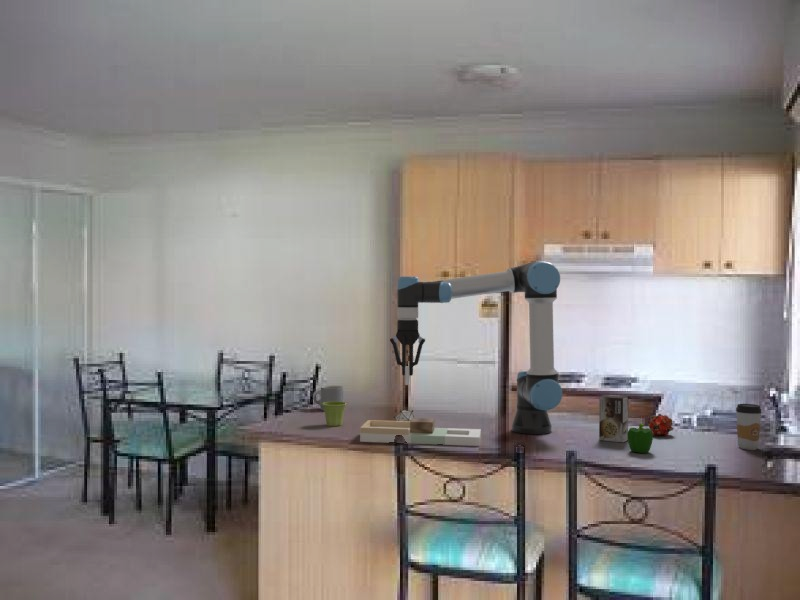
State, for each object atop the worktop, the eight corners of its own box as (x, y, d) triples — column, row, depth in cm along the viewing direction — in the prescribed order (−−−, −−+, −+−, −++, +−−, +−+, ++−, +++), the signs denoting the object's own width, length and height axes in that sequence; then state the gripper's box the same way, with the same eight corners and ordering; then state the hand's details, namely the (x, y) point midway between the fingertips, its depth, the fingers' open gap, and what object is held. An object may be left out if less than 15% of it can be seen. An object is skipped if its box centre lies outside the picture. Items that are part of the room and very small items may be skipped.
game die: (403, 441, 304) (392, 421, 300) (397, 429, 312) (387, 410, 307) (423, 429, 304) (413, 410, 300) (418, 418, 312) (407, 399, 308)
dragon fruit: (668, 437, 307) (657, 446, 297) (649, 422, 310) (638, 431, 301) (680, 421, 303) (670, 430, 293) (662, 406, 306) (651, 415, 297)
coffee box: (628, 440, 291) (629, 396, 291) (622, 443, 286) (623, 398, 286) (604, 437, 296) (605, 393, 296) (598, 440, 291) (598, 395, 291)
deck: (480, 437, 293) (480, 423, 293) (479, 446, 277) (479, 431, 277) (367, 433, 299) (367, 420, 299) (360, 441, 283) (360, 427, 283)
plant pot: (343, 427, 310) (343, 405, 310) (319, 426, 312) (319, 404, 311) (348, 423, 319) (348, 401, 319) (325, 422, 321) (325, 401, 321)
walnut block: (434, 429, 291) (434, 418, 291) (432, 433, 283) (432, 422, 283) (412, 428, 292) (412, 417, 292) (410, 432, 284) (410, 421, 284)
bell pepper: (628, 448, 276) (628, 419, 276) (653, 450, 273) (653, 421, 273) (625, 453, 268) (626, 423, 268) (651, 455, 265) (652, 425, 265)
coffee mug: (346, 408, 359) (346, 386, 358) (338, 411, 349) (338, 388, 349) (318, 406, 362) (318, 384, 362) (310, 410, 353) (310, 387, 353)
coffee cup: (746, 451, 274) (747, 407, 274) (729, 446, 282) (730, 403, 282) (766, 449, 277) (767, 406, 276) (749, 445, 285) (750, 403, 284)
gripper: (426, 318, 291) (426, 383, 291) (391, 318, 292) (391, 382, 293) (424, 319, 283) (424, 386, 284) (388, 319, 285) (388, 385, 285)
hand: (407, 384), depth 288 cm, fingers closed
